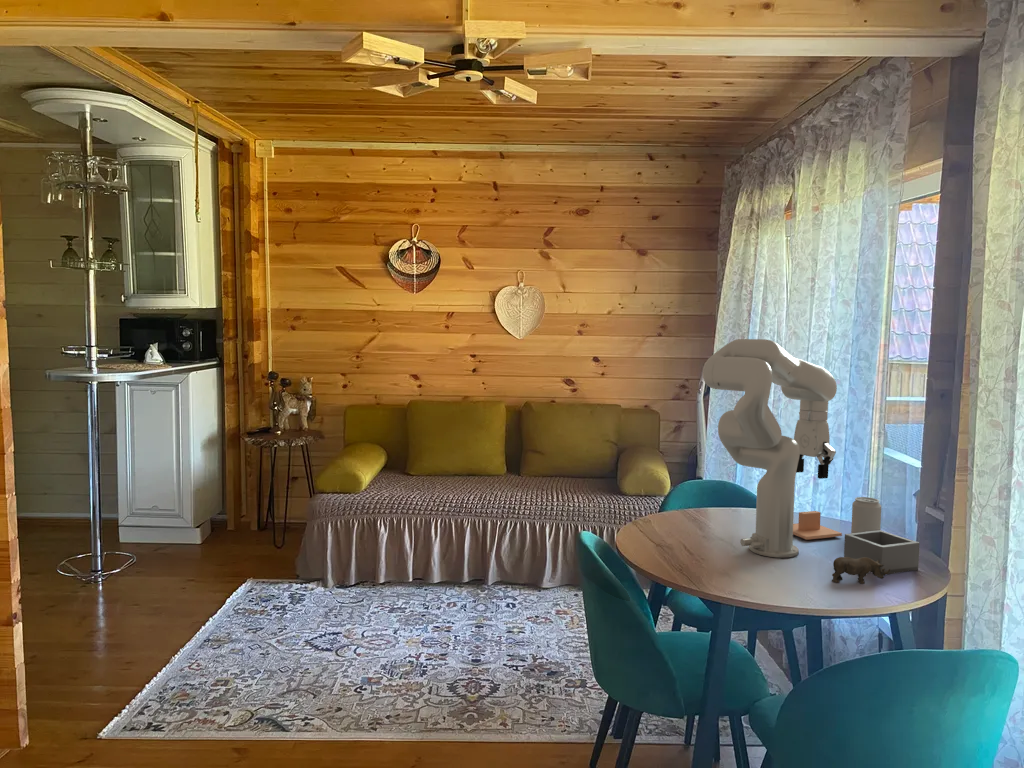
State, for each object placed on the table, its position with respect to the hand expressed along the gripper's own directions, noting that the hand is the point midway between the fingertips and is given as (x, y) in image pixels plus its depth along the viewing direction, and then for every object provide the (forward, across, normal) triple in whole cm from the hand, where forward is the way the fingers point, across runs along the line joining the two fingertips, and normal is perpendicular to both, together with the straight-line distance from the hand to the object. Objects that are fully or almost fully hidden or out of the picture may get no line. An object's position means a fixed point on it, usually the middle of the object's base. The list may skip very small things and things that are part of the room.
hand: (810, 475), depth 212 cm
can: (+18, +9, +12) cm, 23 cm away
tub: (+18, +28, -2) cm, 33 cm away
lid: (+18, 0, +1) cm, 18 cm away
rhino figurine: (+19, +36, -16) cm, 43 cm away
